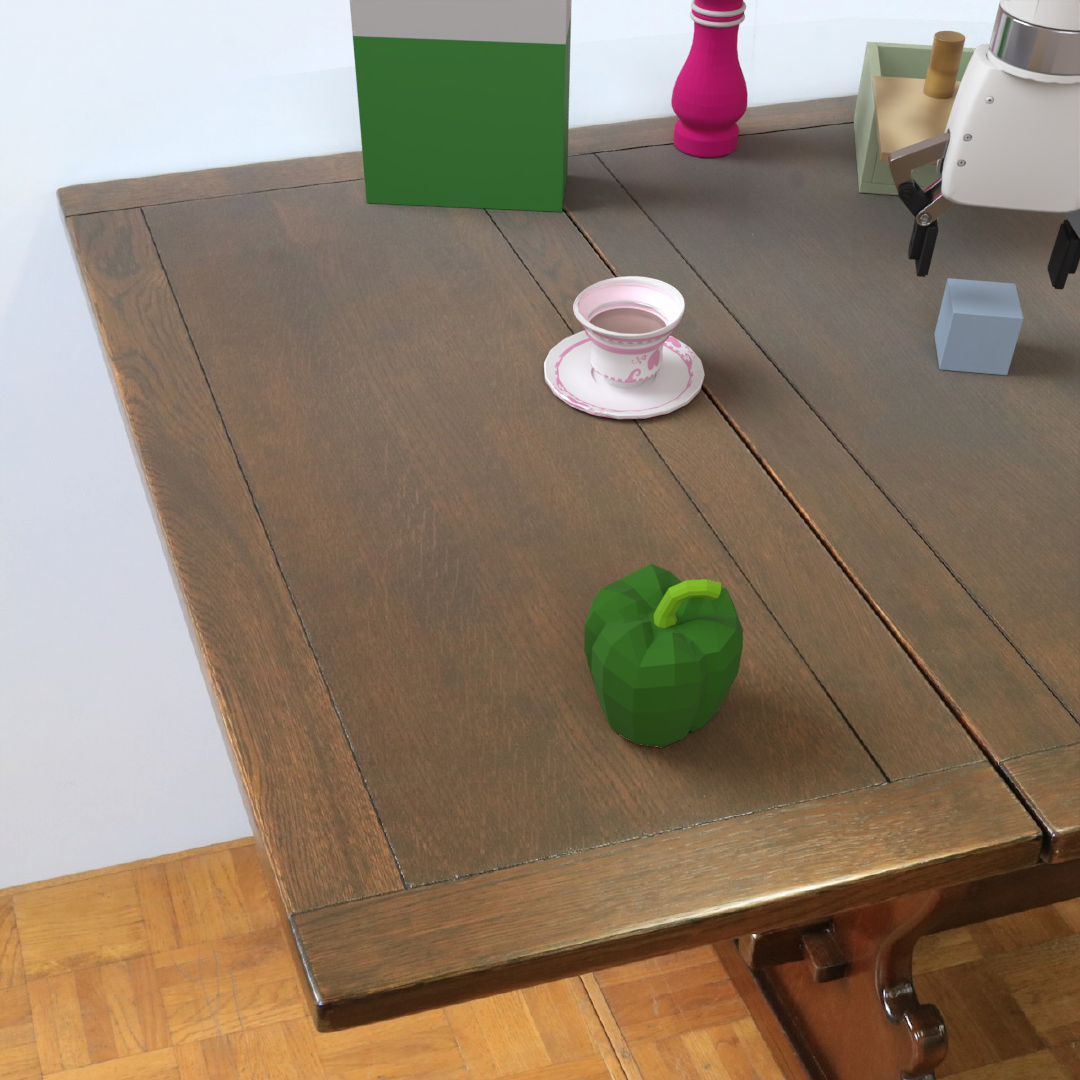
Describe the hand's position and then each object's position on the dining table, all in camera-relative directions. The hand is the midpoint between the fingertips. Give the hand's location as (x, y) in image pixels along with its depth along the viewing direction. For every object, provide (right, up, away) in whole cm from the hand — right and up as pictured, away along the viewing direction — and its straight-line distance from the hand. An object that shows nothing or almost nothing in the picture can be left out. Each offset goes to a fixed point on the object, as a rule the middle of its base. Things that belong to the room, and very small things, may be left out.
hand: (987, 273), depth 97 cm
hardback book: (-39, +13, +25) cm, 48 cm away
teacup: (-26, -7, +2) cm, 28 cm away
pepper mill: (-17, +19, +32) cm, 41 cm away
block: (0, -5, +5) cm, 7 cm away
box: (+3, +17, +30) cm, 35 cm away
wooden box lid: (+2, +16, +17) cm, 23 cm away
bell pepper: (-26, -29, -23) cm, 46 cm away
